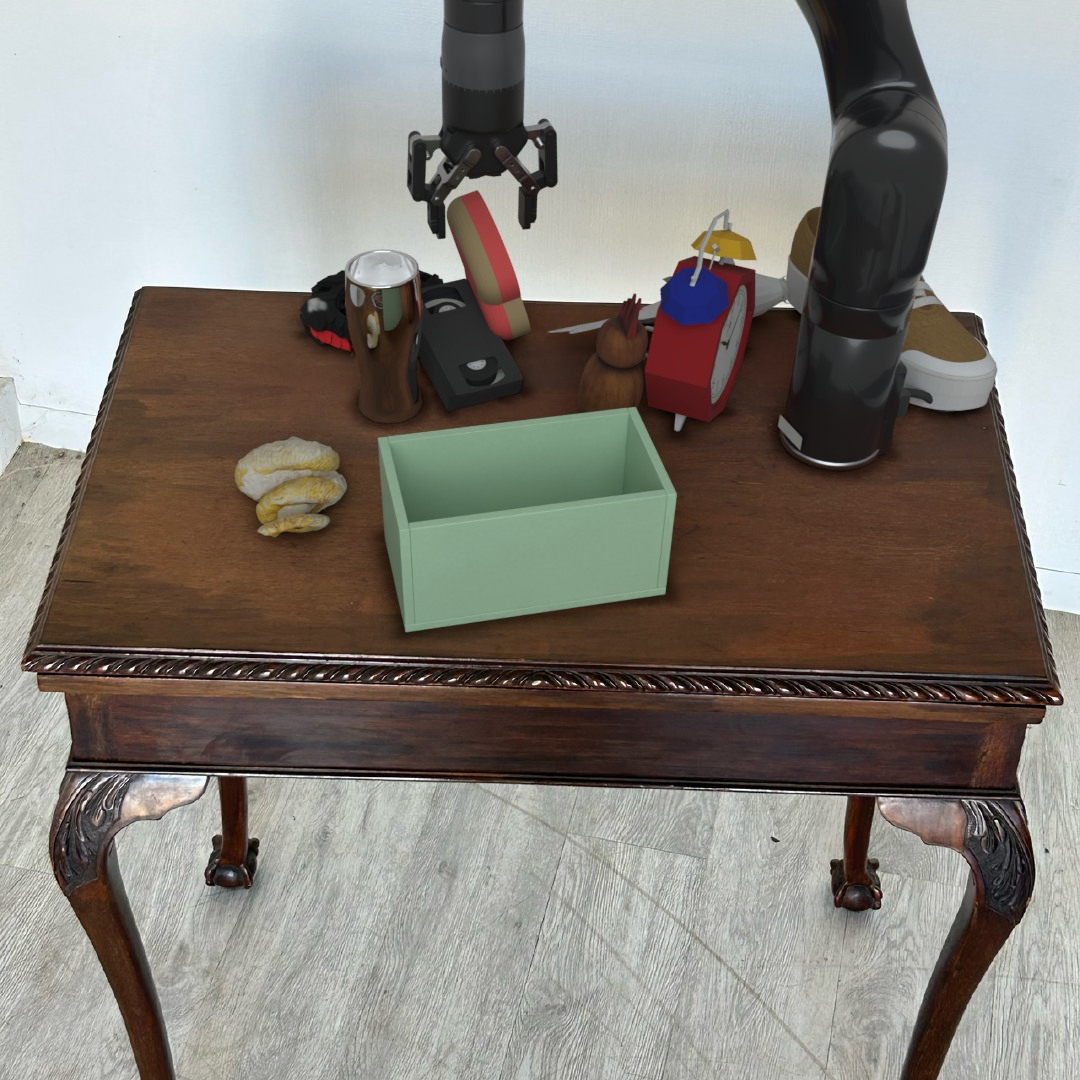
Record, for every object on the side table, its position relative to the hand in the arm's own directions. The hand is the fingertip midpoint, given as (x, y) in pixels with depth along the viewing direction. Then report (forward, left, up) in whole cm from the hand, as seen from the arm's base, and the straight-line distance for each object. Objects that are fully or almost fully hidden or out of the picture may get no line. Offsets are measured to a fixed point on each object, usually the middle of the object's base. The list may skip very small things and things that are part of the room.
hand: (482, 230), depth 134 cm
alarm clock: (-17, +16, -11) cm, 26 cm away
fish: (-20, +8, -6) cm, 23 cm away
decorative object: (-1, +8, -5) cm, 9 cm away
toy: (+10, -4, -12) cm, 16 cm away
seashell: (+22, +24, -12) cm, 34 cm away
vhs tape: (+4, +6, -10) cm, 12 cm away
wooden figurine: (-8, +19, -11) cm, 23 cm away
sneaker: (-39, +11, -11) cm, 42 cm away
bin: (+4, +36, -11) cm, 38 cm away
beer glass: (+11, +11, -12) cm, 20 cm away
